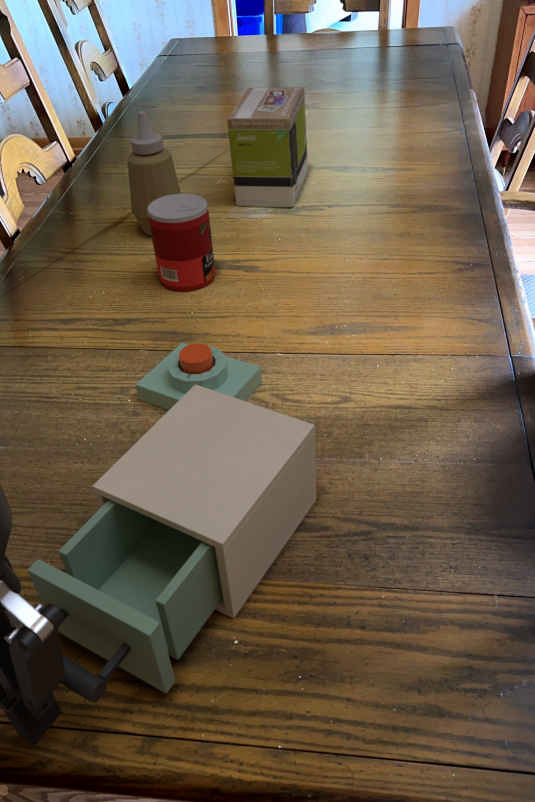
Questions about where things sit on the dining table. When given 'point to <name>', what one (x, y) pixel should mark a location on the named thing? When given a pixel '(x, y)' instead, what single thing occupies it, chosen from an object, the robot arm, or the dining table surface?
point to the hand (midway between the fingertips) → (40, 723)
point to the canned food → (182, 241)
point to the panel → (198, 379)
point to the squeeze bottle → (149, 171)
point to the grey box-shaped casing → (221, 482)
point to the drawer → (129, 596)
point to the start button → (196, 359)
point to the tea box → (268, 146)
